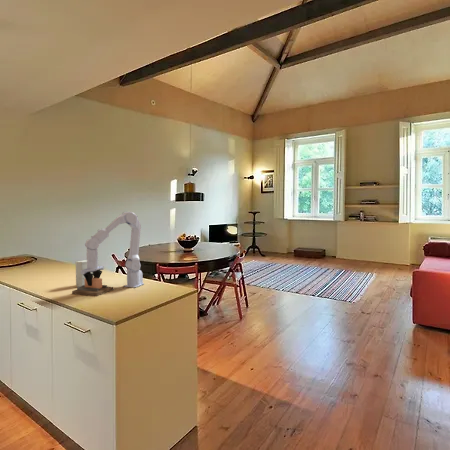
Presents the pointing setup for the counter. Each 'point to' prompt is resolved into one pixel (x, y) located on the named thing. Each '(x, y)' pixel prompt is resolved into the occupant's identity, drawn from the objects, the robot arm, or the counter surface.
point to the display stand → (92, 290)
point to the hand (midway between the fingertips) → (93, 284)
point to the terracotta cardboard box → (94, 283)
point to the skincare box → (80, 277)
